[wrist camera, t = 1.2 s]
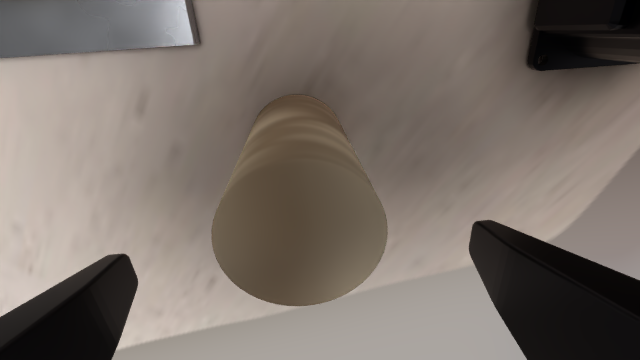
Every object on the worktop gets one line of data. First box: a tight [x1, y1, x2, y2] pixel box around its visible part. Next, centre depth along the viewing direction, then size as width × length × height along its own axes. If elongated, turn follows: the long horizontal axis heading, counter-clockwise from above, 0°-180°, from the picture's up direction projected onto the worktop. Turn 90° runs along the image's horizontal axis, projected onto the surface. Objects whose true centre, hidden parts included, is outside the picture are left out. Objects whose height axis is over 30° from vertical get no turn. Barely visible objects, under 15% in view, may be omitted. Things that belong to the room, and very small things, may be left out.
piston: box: [212, 95, 388, 306], centre depth 13 cm, size 5×5×9 cm
